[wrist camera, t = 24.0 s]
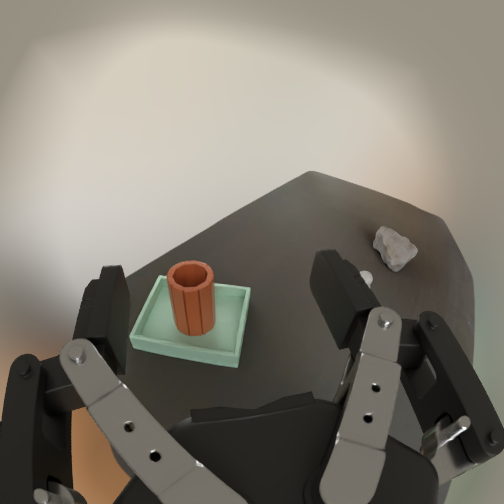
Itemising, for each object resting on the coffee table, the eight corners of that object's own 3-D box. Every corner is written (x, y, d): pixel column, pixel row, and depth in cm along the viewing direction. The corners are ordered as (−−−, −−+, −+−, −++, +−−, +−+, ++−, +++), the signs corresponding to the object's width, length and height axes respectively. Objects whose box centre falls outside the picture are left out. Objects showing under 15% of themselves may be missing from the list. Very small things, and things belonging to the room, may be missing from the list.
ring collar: (169, 332, 42) (160, 287, 36) (181, 302, 47) (175, 257, 41) (210, 339, 41) (207, 295, 36) (218, 308, 46) (217, 263, 41)
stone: (360, 251, 62) (368, 228, 59) (382, 242, 66) (389, 220, 62) (394, 277, 56) (404, 254, 52) (414, 265, 59) (423, 243, 56)
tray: (133, 348, 40) (128, 336, 38) (161, 287, 50) (159, 275, 48) (237, 368, 39) (238, 357, 37) (249, 299, 49) (250, 287, 48)
